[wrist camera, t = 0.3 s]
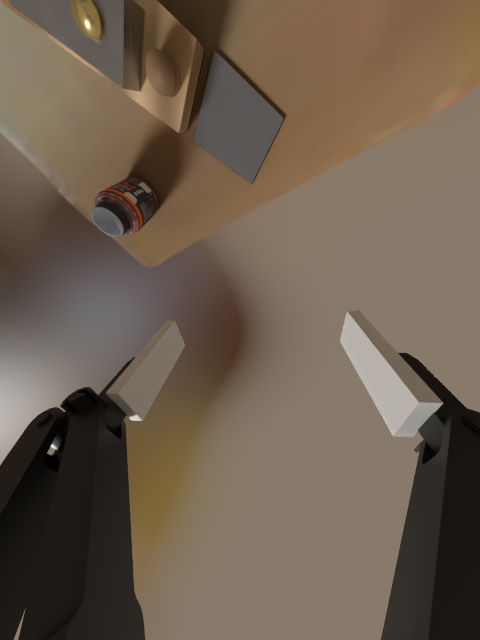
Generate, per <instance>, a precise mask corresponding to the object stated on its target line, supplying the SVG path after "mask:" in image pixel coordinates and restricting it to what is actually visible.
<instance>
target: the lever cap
mask: <svg viewBox="0 0 480 640" xmlns="http://www.w3.org/2000/svg"><path fill="white" fill-rule="evenodd" d="M9 2H10V5H11V6H12V7H14V8H15V9H17V10H18V11H19V12H21V13H22V14H23V15H25V16H26V17H27V18H29V19H30V20H31V21H33V22H34V23H35V24H37V25H38V26H39V27H41V28H42V29H43V30H45V31H46V32H47V33H49V34H50V35H52V36H53V37H54V38H56V39H57V40H58V41H60V42H61V43H62V44H64V45H65V46H66V47H68V48H69V49H70V50H72V51H73V52H74V53H76V54H77V55H78V56H80V57H81V58H82V59H84V60H85V61H87V62H88V63H89V64H91V65H92V66H93V67H95V68H96V69H97V70H99V71H100V72H101V73H103V74H104V75H105V76H107V77H108V78H109V79H111V80H112V81H113V82H115V83H116V84H118V85H119V86H120V87H122V88H123V89H128V90H133V91H139V92H141V75H142V57H143V39H144V22H145V10H144V9H143V8H142V7H141V6H140V5H139V4H137V3H136V2H135V1H134V0H9Z"/></svg>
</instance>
